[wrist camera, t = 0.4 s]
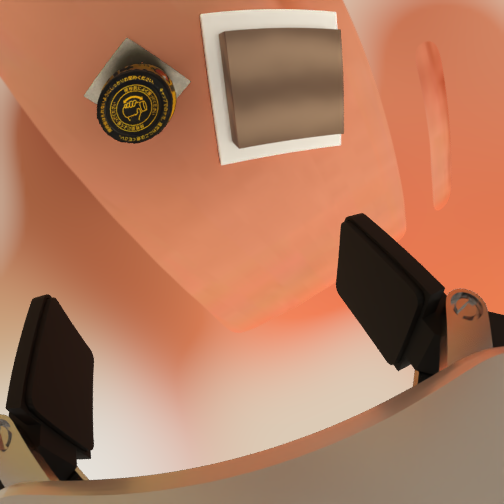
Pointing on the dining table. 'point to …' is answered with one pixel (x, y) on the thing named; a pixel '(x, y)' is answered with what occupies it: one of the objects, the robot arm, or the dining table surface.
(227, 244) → the dining table surface
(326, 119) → the plinth
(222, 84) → the base board
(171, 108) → the condiment
